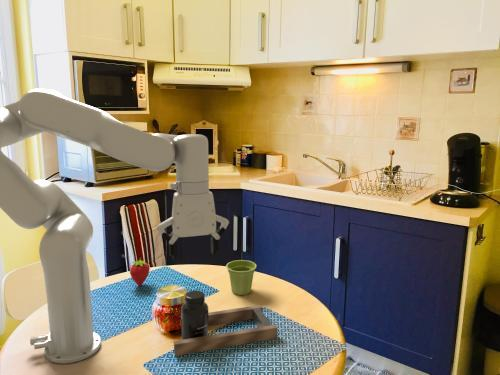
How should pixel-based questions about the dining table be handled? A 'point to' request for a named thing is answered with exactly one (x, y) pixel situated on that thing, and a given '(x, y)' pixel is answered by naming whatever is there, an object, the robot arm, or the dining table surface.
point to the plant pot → (241, 276)
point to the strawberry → (139, 272)
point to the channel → (230, 338)
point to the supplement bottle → (194, 316)
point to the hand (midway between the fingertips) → (194, 255)
